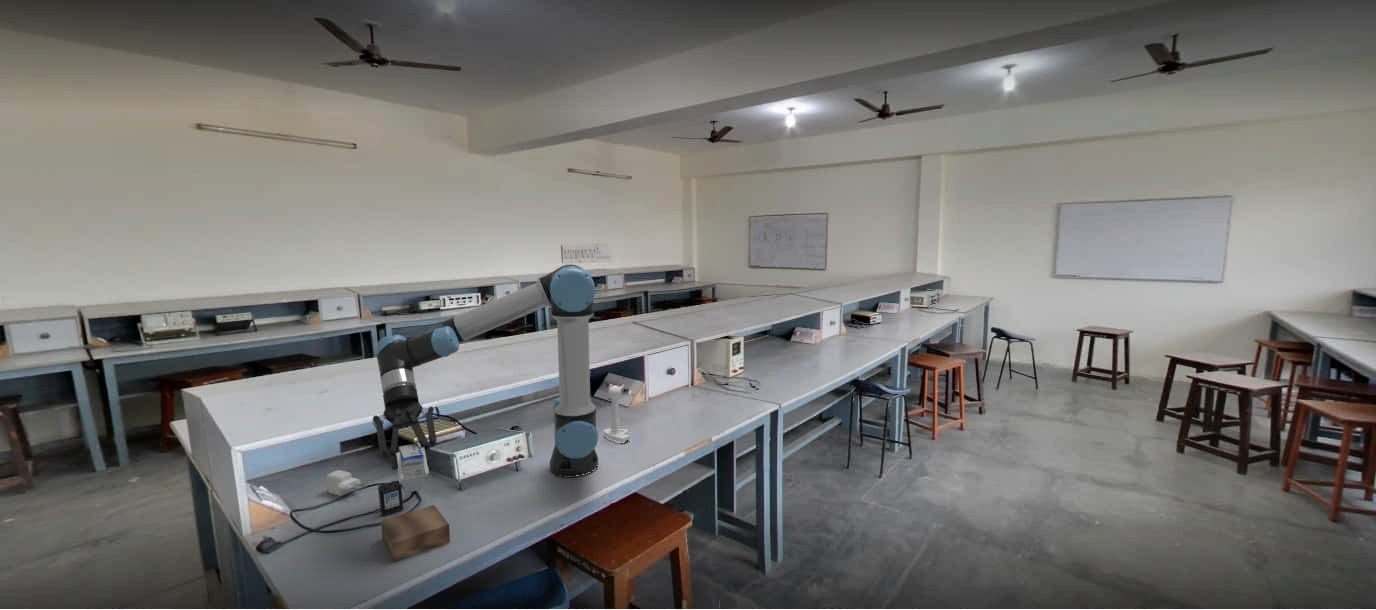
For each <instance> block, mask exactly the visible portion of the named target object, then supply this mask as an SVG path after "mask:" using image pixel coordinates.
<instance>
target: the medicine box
mask: <svg viewBox="0 0 1376 610" xmlns="http://www.w3.org/2000/svg"><path fill="white" fill-rule="evenodd" d="M420 449H421V448H420V446H419V444H418V443H411V444H406V445H401V446H398V448H397V453H398V452H400V456H401V462H402V468H403V475H404V482H403V483H401V489H402V490H403V493H405V494H408V493H411V492H416V491H422V490H425V488H426V478H425V474H424V456H423V454H422V452H421V450H420Z"/></svg>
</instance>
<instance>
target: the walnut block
mask: <svg viewBox="0 0 1376 610" xmlns="http://www.w3.org/2000/svg"><path fill="white" fill-rule="evenodd" d="M380 522H381V523H380V524H381V537H382V538H381V539H382V541H383V543H384V545H385V546H386V548H387V551H388V553H389V554H390V556H391V559H392V560H393V562H394V563H397V562H399V561H402V560H405V559H408V558H411V557H414V556H416V555H419V554H422V553H424V552H427V551H431V550H433V549H436V548H438V547H443V546H445V545H446V544H449V543H451V539H450V538H451V535H450V524H449V522H448V521H447V519H446V518H445V517H444V516H443V514H442V513H441V512H440V510H439V509H438V508H437V507H436V505H435V504H432V505H429V506H425V507H423V508H419V509H416V510H413V511H409V512H406V513H402V514H400V515H397V516H392V517H390V518H386V519H383V520H380Z"/></svg>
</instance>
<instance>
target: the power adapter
mask: <svg viewBox="0 0 1376 610" xmlns="http://www.w3.org/2000/svg"><path fill="white" fill-rule="evenodd" d="M352 476H353V475H352V473H351V472H348V471H345V470H341V469H337V470H335V471H332V472H330V473H328V474H326V488H327V492H328V494H331V495H335V496H338V497H343V496H345V495H347V494H350V493H351V492H353V490H354V491H356V490H357V487H358V486H362V487H364V486H365V485H366V483H364V482H361V481H362V480H360V478H355V477H352Z"/></svg>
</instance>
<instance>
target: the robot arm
mask: <svg viewBox="0 0 1376 610" xmlns="http://www.w3.org/2000/svg"><path fill="white" fill-rule="evenodd" d="M595 294H596V285H595V282H594V279H593V278H592V276H591V274H590V273H589V272H588V271H587V270H585V269H584V268H582V267H581V266H579V265H576V264H565V265H562V266H559V267H558V268H556V269H555V270H553V271H551V272H549V273H548V274H545V275H543V276H540V277H539V278H537V280H536V282H535V283H533V284H531V285H528V286H526V287H523V288H520V289H518V290H516V291H514V292H512V293H509V294H506V295H503V296H502V297H499V298H496V299H494V300H492V301H489V302H487V303H484V304H482V305H480V306H477V307H476V308H472V309H471V310H468V311H465V312H463V313H460V314H458V315H455V316H454V317H451V318H449V319H446V320H441V321H439V322H436V323H434V324H433V325H432V326H430V328H429V329H428V330H427V331H425V332H424V333H422V334H420V335H416V336H414V337H412V338H408V339H407V338H406V336H403V335H400V334H395V335H394V334H393V335H386V336H384V337H382V338H381V339H380V340H378V341H377V344H376V360H377V364H378V369H379V370H378V371H379V375H380V383H381V389H382V390H381V392H382V394H383V395H382V397H383V398H382V399H383V404H384V405H383V406H384V410H383V413H382V414H380V415H373V417H372V425H373V426H374V428H376V434H377V435H376V436H377V440H378V446H379V447H378V448H379V454H380V457H382V458H385V457H387V458H389V459H390V465H391V469H392V470H393V471H394V470H397V475H398V480H399V483H400V484H401V483H403V482H404V475H403V468H402V462H401V456H400V452H398V451H397V449H398V448H397V446H398V440H399V439H398V438H399V429H400V427H404V426H410V428H411V429H412V431H413V432H414V434H415V437H416V439H417V441H418V442H419V445H420V447H421V448H420V450H421V452H422V454H423V456H424V474H425V479H426V478H428V477H429V474H430V471H429V467H428V466H429V465H428V463H430V462H431V460H432V455H431V448H434V447H436V446H437V445H436V444H437V435H436V430H435V429H436V428H435V423H434V422H435V421H434V418H433V413H434V407H433V406H429V407H423V406H422V404H420V400H419V396H418V391H417V390H418V389H417V384H416V381H415V380H416V379H415V373H414V368H416V367H420V366H421V365H425V364H428V363H430V362H433V361H436V360H438V359H442V358H444V357H445V358H447V357H449V356H450V355H452V354H454V353H457V352H458V351H459V349H460V343H463V342H465V341H467V340H469V339H472V338H474V337H477V336H479V335H482V334H484V333H486V332H488V331H491V330H493V329H495V328H498V327H500V326H504V325H505V324H508V323H510V322H512V321H515V320H517V319H520V318H522V317H525V316H527V315H529V314H532V313H534V312H536V311H538V310H541V309H543V308H545V307H548V308H550V310H551V311H550V312H551V313H550V315H551V317H552V318H553V319H554V320H555V321H556V323H557V324H556V326H557V356H558V357H557V358H558V385H559V386H558V389H559V397H557V398H555V399H554V401H553V407H552V408H553V417H554V418H553V419H554V421H553V422H554V427H553V428H554V446H553V450H552V453H551V456H550V460H549V471H550V472H551V474H553V473H554V474H553V475H555V474H556V475H555V476H557V475H561V476H560V477H562V476H576V475H582V474H586V473H588V472H591V471H592V470H594V469H595V468H596V467H597V465H598V466H599V457H598V454H597V453H598V452H597V451H596V447H597V444H598V441H599V432H598V430H597V410H596V407H597V406H596V405H595V404H594V403H593V401H592V398H591V381H590V379H591V378H590V373H591V372H590V338H589V337H590V335H589V334H590V333H589V332H590V330H589V328H590V327H589V320H590V319H591V318H592V317H593V316H594V314H595V313H594V312H595V310H594V299H595ZM421 414H423V417H424V418H425V422H426V429H427V434H428V439H429V440H428V439H427V436H426V435H425V433H424V431H423V429H422V426H421V425H420V422H419V419H418V418H419V417H420V415H421ZM385 420H387V421H388V423H390V424H391V425H393V427H392V436H391V444H390V448H387V447H388V446H387V441H386V437H385V429H384V423H385ZM597 468H598V467H597ZM591 473H592V472H591Z"/></svg>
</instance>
